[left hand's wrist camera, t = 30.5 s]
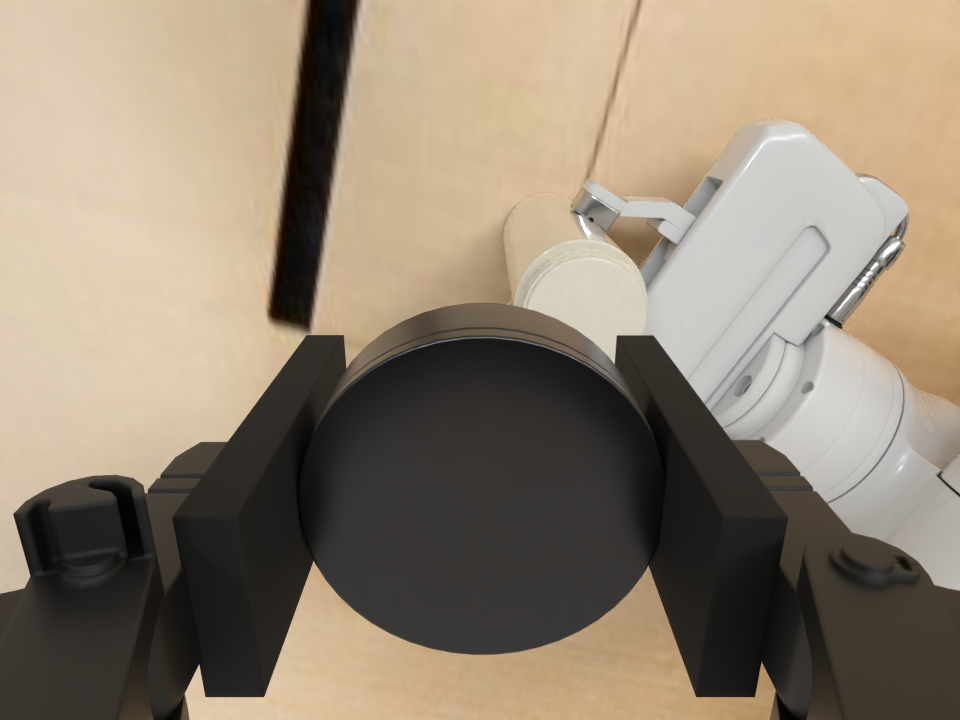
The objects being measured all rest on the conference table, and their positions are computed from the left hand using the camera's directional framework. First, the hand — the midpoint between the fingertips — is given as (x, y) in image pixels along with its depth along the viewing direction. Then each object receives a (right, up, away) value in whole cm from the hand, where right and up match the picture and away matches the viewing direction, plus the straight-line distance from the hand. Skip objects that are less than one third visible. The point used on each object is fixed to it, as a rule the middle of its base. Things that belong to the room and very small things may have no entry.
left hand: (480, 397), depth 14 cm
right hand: (+3, +6, +17) cm, 18 cm away
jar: (+4, +7, +23) cm, 24 cm away
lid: (0, -1, -4) cm, 4 cm away
